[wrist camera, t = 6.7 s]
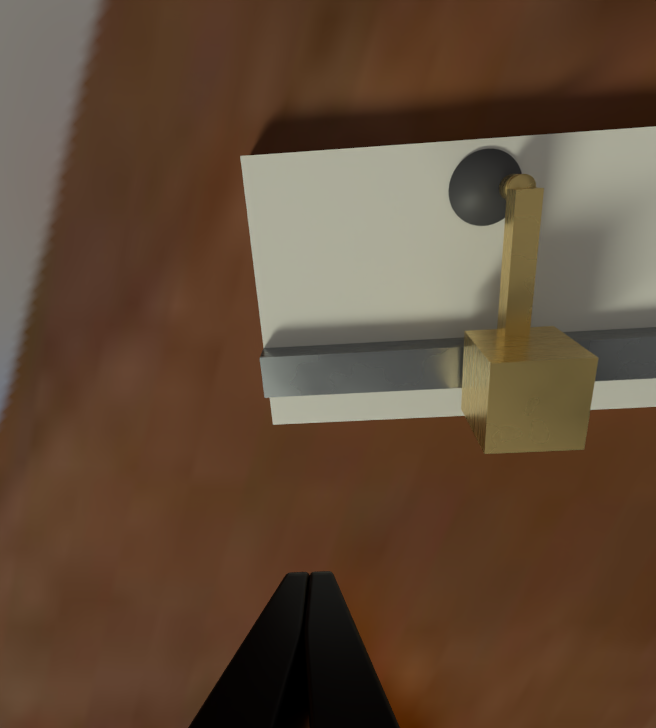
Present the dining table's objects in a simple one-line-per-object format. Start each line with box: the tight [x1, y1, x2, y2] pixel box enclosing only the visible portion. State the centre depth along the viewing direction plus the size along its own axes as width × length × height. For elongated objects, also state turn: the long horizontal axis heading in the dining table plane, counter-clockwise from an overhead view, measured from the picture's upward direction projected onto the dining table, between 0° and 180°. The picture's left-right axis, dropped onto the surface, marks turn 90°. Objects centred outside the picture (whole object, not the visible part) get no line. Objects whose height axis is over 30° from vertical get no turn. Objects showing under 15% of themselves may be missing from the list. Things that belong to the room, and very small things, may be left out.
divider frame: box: [260, 327, 656, 398], centre depth 15 cm, size 22×8×4 cm, turn 94°
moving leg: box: [461, 174, 598, 454], centre depth 15 cm, size 3×8×4 cm, turn 4°
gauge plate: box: [240, 126, 656, 425], centre depth 18 cm, size 24×10×2 cm, turn 94°
